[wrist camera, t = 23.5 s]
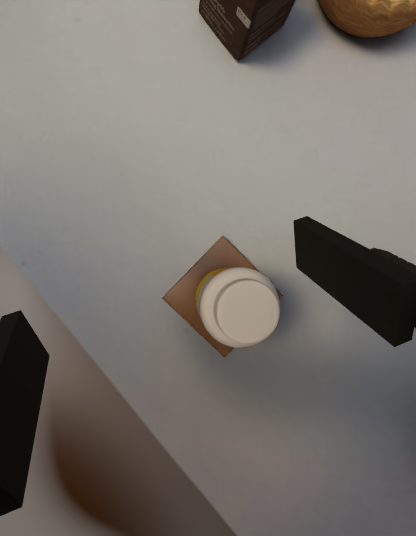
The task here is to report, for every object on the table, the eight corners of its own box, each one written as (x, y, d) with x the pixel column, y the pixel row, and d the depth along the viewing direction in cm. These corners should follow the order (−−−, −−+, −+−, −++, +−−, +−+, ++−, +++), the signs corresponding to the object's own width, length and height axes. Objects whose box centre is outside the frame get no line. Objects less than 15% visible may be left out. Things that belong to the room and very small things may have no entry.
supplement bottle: (264, 285, 30) (309, 294, 20) (235, 337, 30) (266, 374, 19) (212, 256, 29) (231, 250, 19) (182, 308, 29) (186, 331, 19)
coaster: (223, 355, 30) (224, 357, 30) (162, 297, 30) (162, 298, 29) (281, 294, 31) (283, 295, 30) (222, 236, 30) (223, 235, 29)
